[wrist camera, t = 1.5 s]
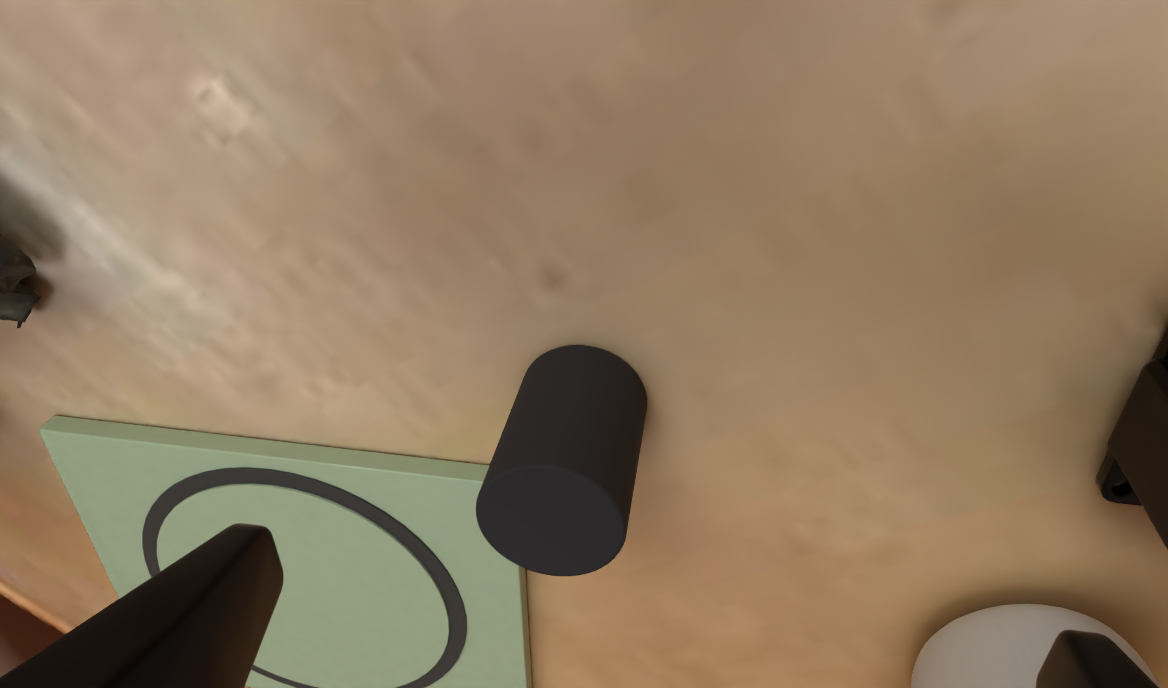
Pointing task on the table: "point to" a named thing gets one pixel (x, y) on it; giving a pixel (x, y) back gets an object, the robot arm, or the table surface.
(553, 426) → the stamp
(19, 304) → the statue
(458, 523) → the board
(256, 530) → the robot arm
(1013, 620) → the cup
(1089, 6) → the table surface
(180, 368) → the table surface
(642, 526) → the table surface
